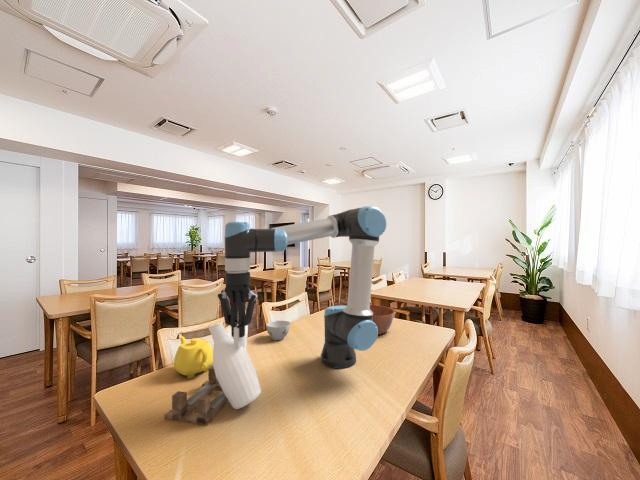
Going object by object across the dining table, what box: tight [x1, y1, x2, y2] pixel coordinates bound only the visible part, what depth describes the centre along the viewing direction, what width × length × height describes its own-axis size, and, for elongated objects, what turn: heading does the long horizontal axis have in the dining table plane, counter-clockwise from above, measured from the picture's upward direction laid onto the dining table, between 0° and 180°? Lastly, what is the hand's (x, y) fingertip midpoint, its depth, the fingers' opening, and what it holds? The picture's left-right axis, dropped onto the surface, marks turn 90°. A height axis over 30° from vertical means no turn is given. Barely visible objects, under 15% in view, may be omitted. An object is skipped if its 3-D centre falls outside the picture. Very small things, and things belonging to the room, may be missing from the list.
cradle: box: [164, 365, 229, 426], centre depth 87 cm, size 14×19×7 cm
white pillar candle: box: [232, 324, 249, 351], centre depth 122 cm, size 7×7×15 cm
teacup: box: [266, 320, 291, 341], centre depth 143 cm, size 15×12×8 cm
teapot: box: [173, 335, 214, 379], centre depth 108 cm, size 14×20×13 cm
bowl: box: [370, 304, 395, 335], centre depth 154 cm, size 25×25×11 cm
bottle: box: [208, 321, 262, 410], centre depth 86 cm, size 11×11×25 cm
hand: (238, 347), depth 84 cm, fingers closed
